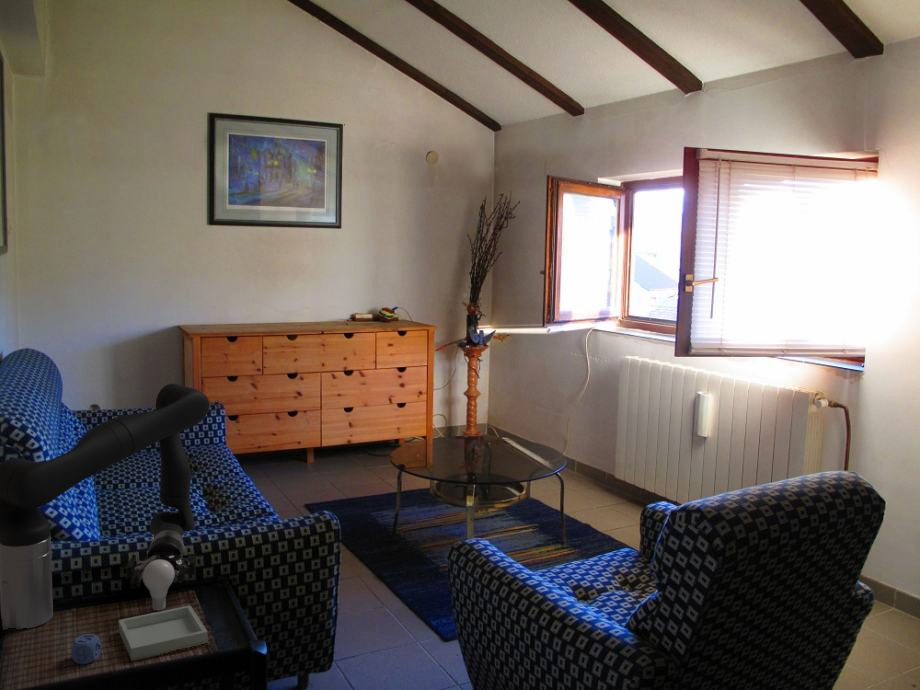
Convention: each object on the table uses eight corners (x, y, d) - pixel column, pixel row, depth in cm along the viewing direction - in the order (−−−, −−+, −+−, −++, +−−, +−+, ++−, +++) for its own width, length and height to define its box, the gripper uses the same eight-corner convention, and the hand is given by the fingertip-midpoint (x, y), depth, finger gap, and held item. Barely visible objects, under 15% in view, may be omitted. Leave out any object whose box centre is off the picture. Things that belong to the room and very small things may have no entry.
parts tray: (131, 661, 153) (131, 648, 153) (118, 631, 164) (118, 620, 164) (207, 643, 161) (207, 631, 161) (190, 616, 172) (190, 605, 171)
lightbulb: (164, 618, 170) (163, 568, 169) (136, 615, 172) (135, 564, 170) (180, 605, 177) (180, 556, 175) (153, 602, 178) (153, 553, 176)
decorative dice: (101, 653, 156) (101, 633, 155) (93, 664, 152) (93, 644, 152) (80, 653, 156) (79, 633, 155) (71, 664, 152) (70, 644, 151)
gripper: (132, 537, 187) (122, 565, 171) (198, 533, 190) (194, 561, 175) (133, 569, 188) (122, 599, 172) (198, 564, 191) (194, 594, 176)
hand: (158, 580), depth 174 cm, fingers open, 8 cm apart
